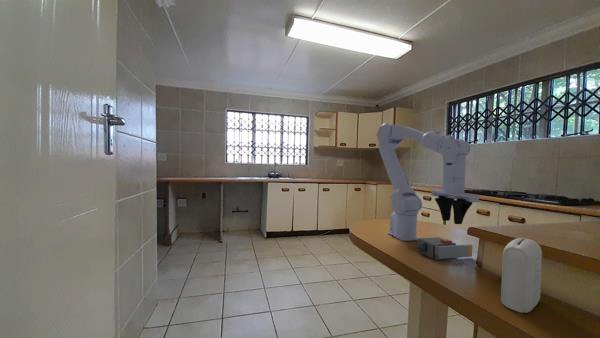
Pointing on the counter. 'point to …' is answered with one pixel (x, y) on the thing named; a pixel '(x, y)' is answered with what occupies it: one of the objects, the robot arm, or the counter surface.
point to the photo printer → (521, 275)
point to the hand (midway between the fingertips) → (451, 222)
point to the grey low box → (431, 245)
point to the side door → (453, 251)
